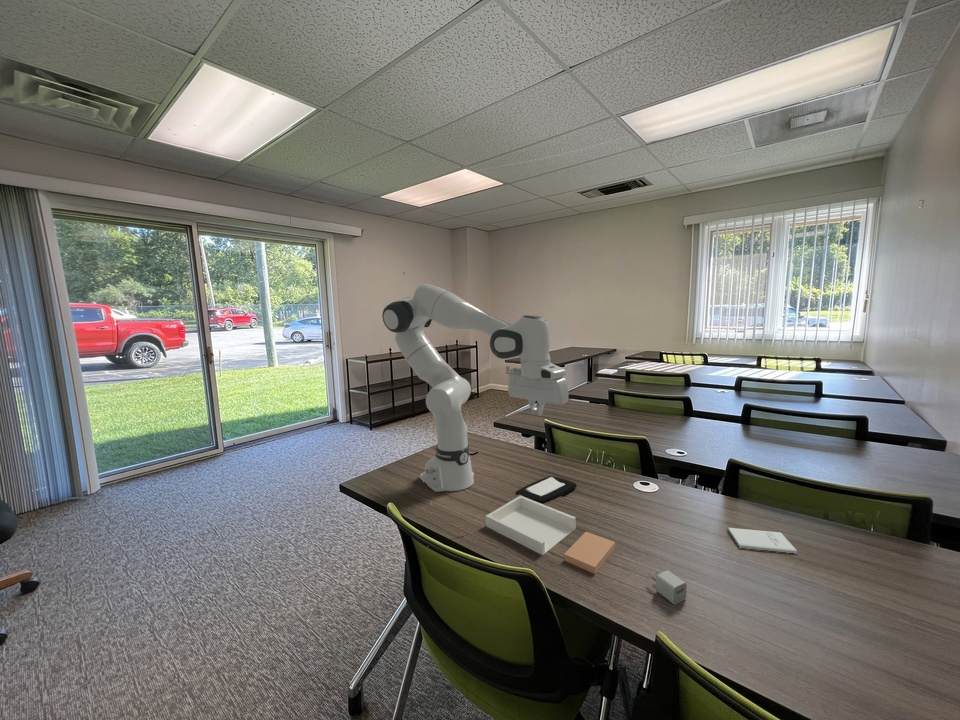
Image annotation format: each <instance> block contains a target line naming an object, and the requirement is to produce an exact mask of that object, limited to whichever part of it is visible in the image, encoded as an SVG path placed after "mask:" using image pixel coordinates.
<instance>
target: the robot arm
mask: <svg viewBox="0 0 960 720" xmlns="http://www.w3.org/2000/svg"><path fill="white" fill-rule="evenodd" d="M381 316H382V317H381V318H382V322H383V325H384V326H385V327H386V329H387V330H389V331H390V332H392V333H396V334H395V335H394V336H395V337H394V339H395V343H396V344H397V347H398V348H399V351H400V352H401V354H402V355H403V358H404V359H405V361H406V362H407V363H408V365H409V366H410V367H411V369H412V370H413V372H414V373H415V374H416V376H417V377H418V379H420V380H422V381H424V382H425V383H427V384H428V385H429V386H430V387H431V389H429V391H428V393H427V395H426V398H425V406H426V407H427V409H428V410H429V412H430V413H431V414H432V417H433V420H434V423H435V428H436V437H437V438H436V439H437V445H436V446H434V447H433V451H435V454H434V456H432V457H431V458H430V459H429V460H428V461H427V462H425V466H424V471H423V472H422V473H420V474H419V476H418V479H419V478H420V479H421V480H422V481H421V480H420V479H419V480H420V481H421V482H422V483H424V482H425V483H426V484H427V485H426V484H425V483H424V484H425V485H426V486H428V487H429V488H430V489H431V490H432V491H433V492H436V493H437V492H438V493H440V492H456V491H457V492H458V491H461V490H465V489H467V488H470V487H472V485H474V483H475V479H474V476H475V472H474V471H473V466H472V459H471V457H470V444H469V443H468V427H467V423H466V422H465V421H464V416H463V413H462V405H463V404H465V403H467V401H468V400H469V398H470V396H471V392H472V387H471V384H470V382H469V381H468V380H467V379H466V378H464V377H462V376H461V375H459V374H458V372H456V371H455V370H454V369H453V368H452V366H450V365H449V364H448V362H446V361H445V360H444V359H443V357H442V356H441V354H440V353H439V352H438V351H437V349H436V348H435V346H434V345H433V343H432V342H431V341H430V340H429V338H428V337H427V335H426V334H425V328H429V327H430V326H431V324H432V321H433V322H435V323H436V324H438V325H441V326H443V327H445V328H448V329H453V330H473V331H478V332H482V333H484V334H486V335H488V336H490V338H489V348H490V351H491V353H492V354H493V355H494V356H495V357H496V358H498V359H503V360H510V359H513V358H519V359H520V368H519V367H513V368H511V369H510V370H509V372H508V374H509V375H508V377H509V379H508V382H507V383H508V386H507V393H508V395H509V397H511V398H516V399H521V400H522V399H523V400H527V404H528V405H529V407H530V409H531V411H530V412H531V414H532V415H534V416H543V412H544V411H543V410H544V408H545V406H546V403H547V404H554V405H559V406H560V405H564V404H566V403H567V402H568V401H569V384H568V381H567V379H566V378H565V377H566V374H567V371H566V369H565V368H563V367H560V366H559V365H556V364H554V363H552V362H551V356H550V347H551V338H550V337H551V335H550V328H549V323H548V320H547V319H546V318H545V317H543V316H538V315H529V314H527V315H522V316H521V317H519V319H518V320H516V321H515V322H513V323H511V324H510V323H508V322H506V321H504V320H501V319H499V318H497V317H495V316H493V315H491V314H489V313H487V312H484V311H482V310H481V309H479V308H478V307H476V306H474V305H472V304H471V303H469V302H468V301H467V300H464V299H463V298H461V297H459V296H458V295H456V294H455V293H452V292H451V291H449V290H447V289H444V288H442V287H439V286H437V285H435V284H434V285H433V284H429V283H423V284H421V285H419V286H418V287H417V288H416V290H415V291H414V292H413V295H409V296H406V297H404V298H401V299H398V300H397V301H392V302H391V303H389V304H388V305H386V306H385V307H384V309H383V311H382V315H381ZM536 402H537V405H538V407H537V406H536Z"/></svg>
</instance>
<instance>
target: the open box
mask: <svg viewBox="0 0 960 720" xmlns="http://www.w3.org/2000/svg"><path fill="white" fill-rule="evenodd" d="M576 520H577V517H576V516H573V515H571V514H568V513H566V512H563V511H561V510H558V509H557V508H556V509H555V508H553V507H551V506H548V505H546V504H541V503H538V502H536V501H533V500H531V499H528V498H526V497H524V496H522V495H521V494H519V496H517V497H515V498H514V499H512V500H510V501H508V502H507V503H504V504H503V505H502V506H500V507H498V508H497V509H495V510H493V511H492V512H490V513H488V514H486V515H485V526H486V527H487V528H489V529H491V530H492V531H495V532H496V533H498V534H500V535H501V536H504V537H506V538H508V539H510V540H513V541H514V542H516V543H517V544H520V545H522V546H524V547H526V548H527V549H530V550H532V552H533V551H534V552H535V553H538V554H539V555H541V556H543V555H545V554H546V553H548V551H550V550H551V549H552V548H554V546H556V545H557V544H558V543H560V542H561V541H562V540H563V539H565V538H566V537H567V536H568V535H569V534H570V533H572V532H573V531H574V530H576V528H577V521H576Z"/></svg>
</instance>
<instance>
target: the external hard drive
mask: <svg viewBox="0 0 960 720" xmlns="http://www.w3.org/2000/svg"><path fill="white" fill-rule="evenodd" d="M726 530H728V531H727V532H728V533H730V534H729V535H730V537H731V536H732V537H733V538H732V537H731V538H732V539H734V540H735V541H736V543H737V544H738V546H739V547H741V548H742V547H743V548H750V549H758V550H757V551H759V550H769V551H781V552H787V553H786V554H788V553H794V554H793V555H797V554H798V550H797V549H796V548H795V546H794V545H792V543H791V542H790V541H789V540H788V539H787V538H786V537H785V535H784V534H783V533H782V532H778V531H767V530H760V529H759V530H756V529H749V528H748V529H745V528H736V527H735V528H734V527H727V529H726ZM734 540H733V541H734ZM735 541H734V542H735ZM736 543H735V544H736ZM737 544H736V545H737ZM738 546H737V547H738ZM739 547H738V548H739ZM769 551H768V552H769Z"/></svg>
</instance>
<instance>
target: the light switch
mask: <svg viewBox="0 0 960 720" xmlns="http://www.w3.org/2000/svg"><path fill="white" fill-rule="evenodd" d="M575 488H577V484H576V482H573V481H571V480H568V479H566V478H561V477H557V476H553V475H552V476H551V475H549V476H546V477H543V478H541V479H538V480H536V481H534V482H531V483H528V484H527V485H525V486H523V487H521V488H519V489H518V490H516V492H515V493H516V495H517V496H518V495H519V496H520V495H521V496H523V497H526V498H528V499H531V500H533V501H536V502H538V503H541V504H543V505H545V504H546V503H549V502H551V501H554V500H555V499H558V498H560V497H562V496H564V495H565V494H567V493H569V492H571V491H572V490H574V489H575Z"/></svg>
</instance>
